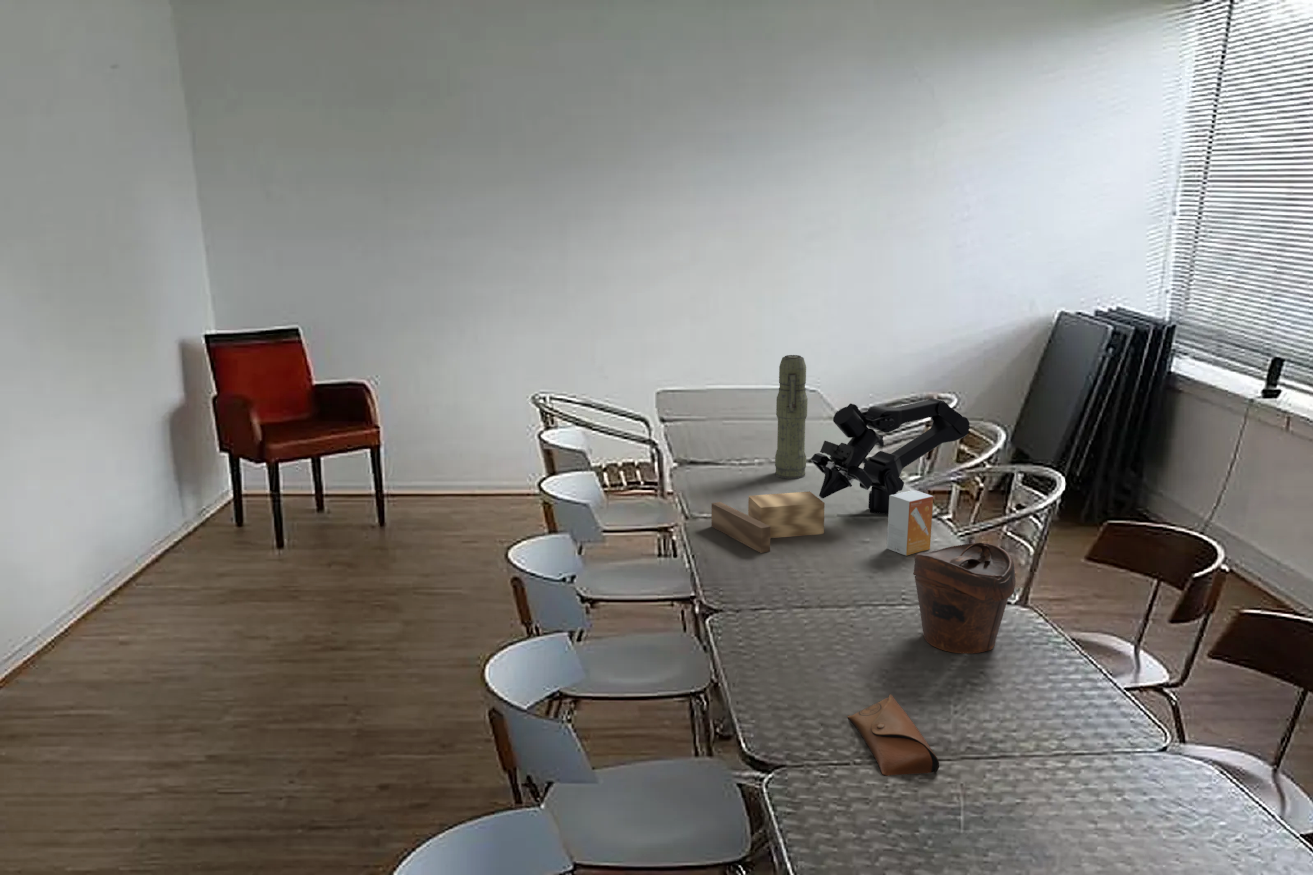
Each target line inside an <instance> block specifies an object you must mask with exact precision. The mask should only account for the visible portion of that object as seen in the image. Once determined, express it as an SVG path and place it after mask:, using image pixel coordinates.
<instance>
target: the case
mask: <svg viewBox="0 0 1313 875" xmlns="http://www.w3.org/2000/svg"><path fill="white" fill-rule="evenodd" d="M912 575H913V576H914V581H915V582H914V583H915V587H916V593H917V594H916V595H917V600H918V607H919V612H920V619H921V620H920V622H921V627H922V634H923V638H924V640H925V641H926V642H927V643H928V644H929V645H930V646H933V647H934V648H936V649H939V650H941V651H945V652H948V653H949V652H950V653H954V654H965V655H966V654H969V655H971V654H978V653H979V654H980V653H983V652H989V651H991V650H992V649H994V646H996V641H997V638H998V633H999V630H1000V628H1001V625H1002V620H1003V617H1004V613H1005V611H1006V607H1007V603H1008V600H1009V598H1011V596H1012V595H1013V594H1014V592H1015V588H1016V572H1015V562H1014V560H1013V558H1012V556H1011V555H1010V553H1009V552H1008V551H1006V550H1005V549H1003V548H1002V547H1000V546H998V545H996V544H991V543H988V542H975V543H974V542H973V543H972V542H971V543H964V544H958V545H952V546H948V547H944V548H940V549H934V550H931V551H926V552H925V551H922V552H917V553H915V555H914V567H913V573H912Z"/></svg>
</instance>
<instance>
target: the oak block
mask: <svg viewBox="0 0 1313 875" xmlns="http://www.w3.org/2000/svg"><path fill="white" fill-rule="evenodd" d="M747 498H748V499H747V500H748V505H747V506H748V507H747V510H748V511H747V512H748V513H747V515H748V516H750V517H752V518H754V519H756V520H758V521H760V522H762V523H764V524H766V525H768V526H770V527H771V528H770V539H774V538H775V539H776V538H787V537H800V536H810V535H811V536H814V535H815V536H816V535H823V534H824V533H825V505H826V504H825V502H824V501H823V500H821V498H819V497H818V496H816V495H815V493H812V491H810V490H809V491H797V492H786V493H785V492H782V493H771V494H769V493H768V494H758V495H757V494H755V495H748V497H747Z"/></svg>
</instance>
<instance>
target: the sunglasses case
mask: <svg viewBox="0 0 1313 875" xmlns="http://www.w3.org/2000/svg"><path fill="white" fill-rule="evenodd" d="M847 719H848V721H850V722H851V723H852V724H853V726H854V727H855V728H856V730H857V731H858V732H859V734H860V735H861V737H862V739H863V740H864V742H865V744H866V745H867V747H868V748H869V751H870V752H871V754H872V755H873V758H874V759H875V761H876V762H877V765H878V767H879V771H880V773H881V775H882V776H885V777H889V776H896V775H897V776H898V775H913V774H914V775H915V774H930V773H934V774H936V773H938V771H939V768H940V761H939V759H938V757H937V755H936V754H935V753H934V752H933V749H932V748H931V747H930V745H929V743H928V742H927V740H926V739H925V737H924V736H923V735H922V733H921V731H920V730H919V729H918V727H917V726H916V725H915V723H914V722H913V720H912V719H911V718H910V716H909V715H908V714H907V712H906V711H905V710H904V709H903V707H902V706H901V705H900V704H899V703H898V701H897V700H896V699H895V697H894V696H893V694H890V693H889V694H888V697H886V698H883V699H881V701H878V702H875V703H874V704H872V705H870V706H867V707H866V708H863V709H861V710H859V711H857V712H855V713H854V714H851V715H847Z"/></svg>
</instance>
